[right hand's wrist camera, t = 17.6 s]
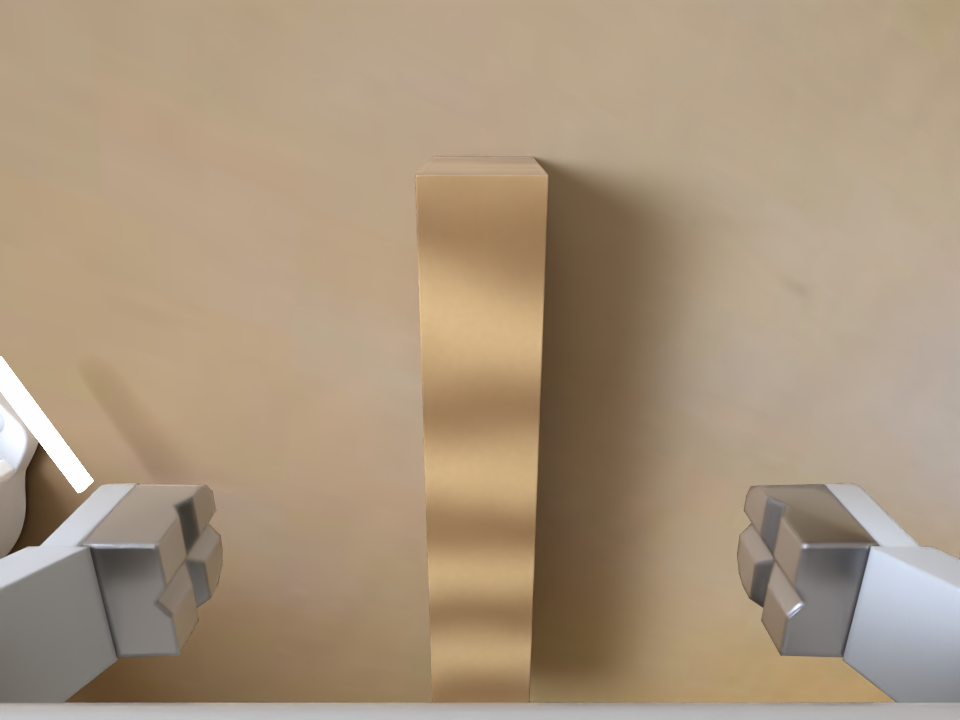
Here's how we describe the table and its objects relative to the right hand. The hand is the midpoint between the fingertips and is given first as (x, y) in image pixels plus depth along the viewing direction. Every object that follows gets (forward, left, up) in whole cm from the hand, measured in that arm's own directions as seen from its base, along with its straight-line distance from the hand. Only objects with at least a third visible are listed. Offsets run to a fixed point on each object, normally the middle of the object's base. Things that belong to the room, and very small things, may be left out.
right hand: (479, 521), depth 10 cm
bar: (+9, -4, -24) cm, 26 cm away
